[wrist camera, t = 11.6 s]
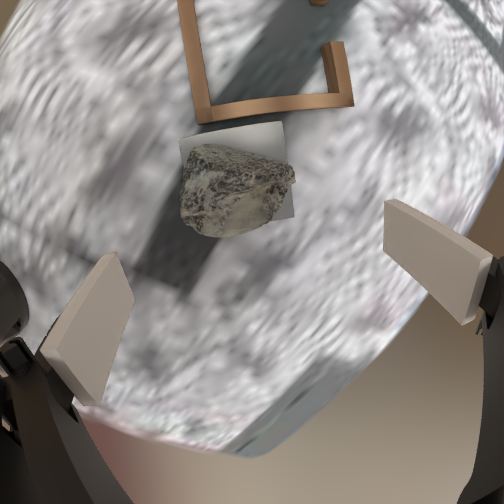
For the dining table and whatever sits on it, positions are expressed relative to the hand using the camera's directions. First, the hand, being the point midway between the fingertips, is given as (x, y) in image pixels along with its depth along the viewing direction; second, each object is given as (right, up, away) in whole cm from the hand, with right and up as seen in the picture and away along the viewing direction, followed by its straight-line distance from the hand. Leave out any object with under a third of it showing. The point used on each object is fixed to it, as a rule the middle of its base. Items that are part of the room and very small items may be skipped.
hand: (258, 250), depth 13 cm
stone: (-3, +8, +17) cm, 19 cm away
